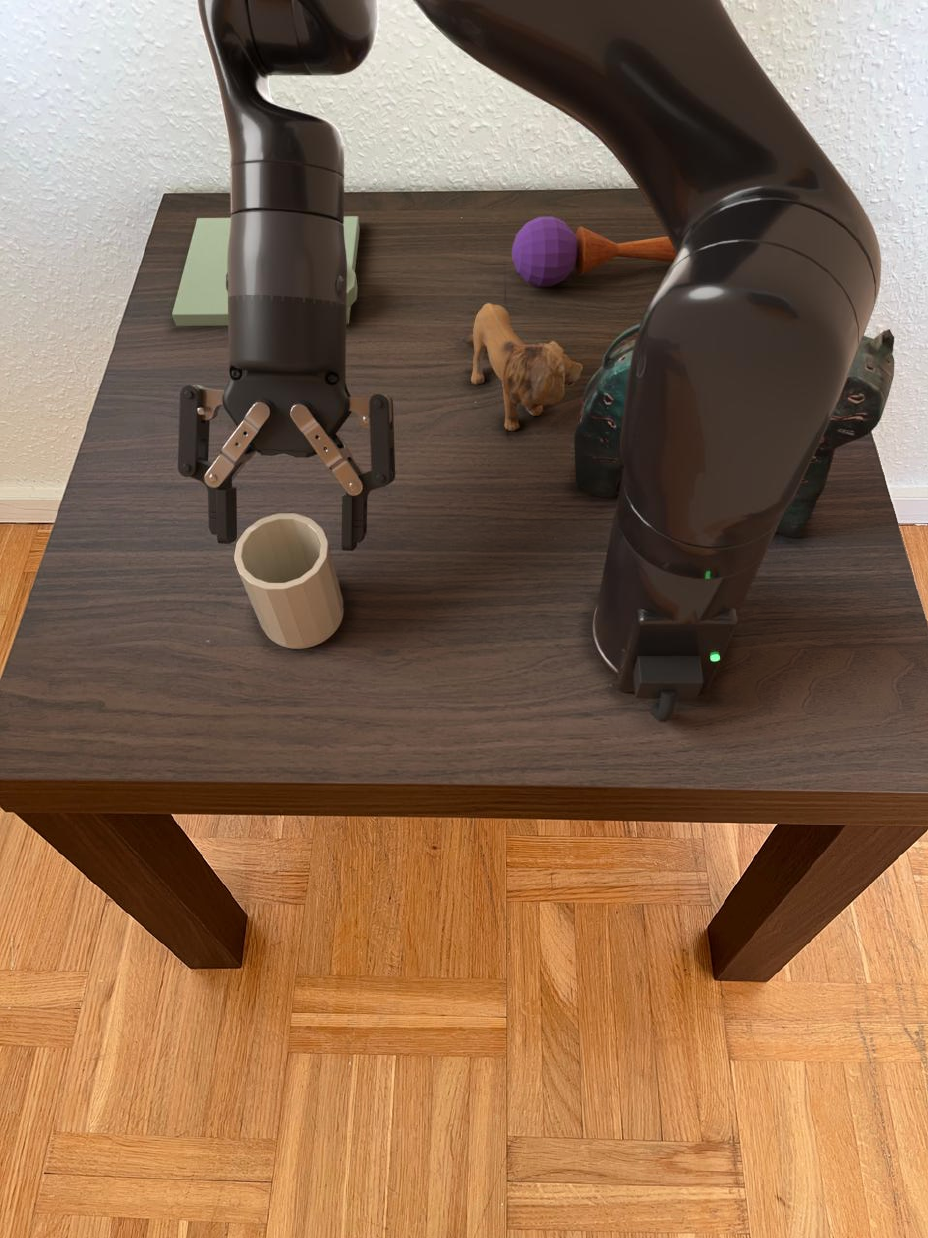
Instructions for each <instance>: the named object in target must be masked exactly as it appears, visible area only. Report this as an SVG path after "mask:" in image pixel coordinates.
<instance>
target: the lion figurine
mask: <svg viewBox="0 0 928 1238" xmlns="http://www.w3.org/2000/svg"><path fill="white" fill-rule="evenodd" d="M474 319H475V320H474V324H473V328H472V334H471V335H466V336H463V337H461V338H460V341H461V342H462V343H463V344H465V345H469V344H472V343H473V350H474V355H473V358H472V362H473V364H472V373H471V377H470V381H471V383H472V384H473V385H476V386H478V385H480V384H484V383H485V375H484V372H483V355H484V353H485V351H486V350H487V356H488V359H489V363H490V365H491V368H492V369H493V371H494V373H495V375H496V377H498V379H499V380H500V381H501V385H502V394H503V403H504V413H505V414H504V415H505V417H504V428H505V429H506V430H507V431H511V432H515V431H516V430H518V429H519V428H520V423H519V415H518V413H517V406H518V404H519V405H522V406H523V407H525V410H526V411H527V412H528V413H529V414H530V415H531V416H534V417H537V416H540V415H541V414H542V413H543V411H544V409H543V408H544V406H546V405H554V404H556V403H559V402H560V400H562V398H563V397H564V396H565V394H566V392H565V387H566V386H567V387H573V385H574V384H575V382H576V381H577V380H579V378H580V376H581V372H582V371H583V370H584V369H583V367H584V366H583V365H582V364H581V363H580V362H575V361H573V360H571V359H570V357H569V356H568V355H566V354H565V353H564V349H563V348H562V346H560V345H558V342H557V341H555V340H552V341H550V342H549V343H540V342H538V344H534V343H532V344H526V343H523V341H522V340H521V338H520V337H518V335H517V334H516V333H515V332H514V330H513V328H512V326H511V325H512V324H511V317H510V314H509V312H508V311H507V309H506V308H504V307H503V306H502V305H500V304H493V303H491V302H488V303H485V304H483V306H482V308H481V309H480V310H479V311H478V313H477V314H476V316H475V318H474Z"/></svg>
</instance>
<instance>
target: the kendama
mask: <svg viewBox="0 0 928 1238" xmlns="http://www.w3.org/2000/svg"><path fill="white" fill-rule="evenodd" d="M616 257H618V258H628V259H637V260H647V261H648V260H650V261H660V262H671V263H673V261H674V259H675V257H676V253H675V250H674V248H673V245H672V243H671V241H670V239H669V237H668V235H667V236H661V237H653V238H647V239H641V240H633V241H626V242H621V243H616V242H614V241H613V240H610V239H608V238H606V237H604V236H602V235H599V234H598V233H596V232H594V231H591V230H589V229H587V228H585V227H583V226H579V227H578V228H577V230H576V233H575V232H574V231H573V230H572V229H571V228H570V227H569V226H568V224H567V223H566V222H565V221H563V220H561V219H558V218H557V217H555V216H538V217H535V218H533V219H532V220H530V221H528V222H526V223H525V224H524V226H522V227H521V229H520V230H519V231H518V232H517V233H516V235H515V238H514V240H513V244H512V247H511V258H512V261H513V264H514V267H515V271H516V273H518V275H520V276H521V278H522V279H523V280H524V281H525V282H526V283H529V284H531V285H533V286H535V287H538V288H543V287H552V286H554V285H557V284H559V283H561V282H563V281H565V280H566V279H567V278H568V277H569V275H571V273H572V272H574V270H575V271H576V274H577V275H578V276H582V275H583V274H585V273H587V272H588V271H591V270H593V269H595V268H597V267H599V266H601V265H603V264H604V263H607V262H608V261H611V260H612V259H614V258H616Z"/></svg>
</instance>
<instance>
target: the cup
mask: <svg viewBox="0 0 928 1238" xmlns="http://www.w3.org/2000/svg"><path fill="white" fill-rule="evenodd" d="M233 555H234V556H233V559H234V563H235V565H236V569H237V572H238V574H239V577H240V579H241V581H242V584H243V586H244V589H245V592H246V594H247V596H248V599H249V601H250V603H251V605H252V608H253V610H254V613H255V615H256V618H257V620H258V622H259V625H260V627H261V629H262V630H263V633H264V634H265V635H266V636H267V638H268V639H270V641H272V642H273V643H275V644H277V645H279V646H281V647H284V648H289V649H295V650H300V649H301V650H302V649H308V648H312V647H315V646H317V645H320V644H322V643H324V642H326V641H327V640H328V639H329V638H331V637H332V636H333V635H334V634H335V632H336V631H337V630H338V628H339V627H340V625H341V623H342V620H343V617H344V610H345V608H344V599H343V595H342V591H341V587H340V584H339V579H338V576H337V572H336V567H335V563H334V559H333V556H332V552H331V547H330V544H329V541H328V538H327V536H326V533H325V531H324V529H323V528H322V527H321V526H320V525H319V524H318V523H317V522H315V521H314V520H313V519H312V518H310V517H307V516H304V515H301V514H300V513H299V514H298V513H285V512H284V513H274V514H272V515H268V516H265V517H263V518H260V519H258V520H257V521H256V522H254V523H252V524H251V525H249V526H248V527H247V528H246V529H245V530H244V532H242V534H241V536H240V537H239V539H238V540H237V542H236V545H235V550H234V554H233Z"/></svg>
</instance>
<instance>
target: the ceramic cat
mask: <svg viewBox="0 0 928 1238" xmlns="http://www.w3.org/2000/svg"><path fill="white" fill-rule="evenodd" d="M640 324H641V323H637V324H635V325H633V326H631V327H629V328H627V329H625V330H624V331H623V332H622V333H620V334H619V335H618V336H617V337H616V338H615V339H614V340H613V341H612V343H611V344H610V345H609V346H608V348H607V350H606V352H605V353H604V355H603V357H602V361H601V363H602V364H601V366H600V367H599V368H598V369H597V371H596V372H595V373H594V374H593V375H592V377H591V378H590V380H589V382H588V383H587V385H586V387H585V389H584V392H583V395H582V399H581V407H580V413H579V417H578V421H577V424H576V427H575V430H574V436H573V437H574V438H573V449H574V465H575V466H574V471H575V472H574V473H575V488H576V490H577V492H581V493H584V494H586V495H590V496H593V497H599V498H604V499H607V498H615V495H616V491H617V487H618V484H619V480H620V477H621V473H622V470H624V465H623V462H622V459H621V455H620V434H621V426H622V419H623V411H624V404H625V397H626V389H627V382H628V376H629V369H630V364H631V358H632V353H633V348H634V344H635V340H636V338H635V339H632V340H630V341H628V342H626V343H625V344H623V345H621V346H619V347H617V346H618V345H619V344H621V343H622V342H623V341H624V340H627V339H628V338H630V337H632V336H633V335H635V334H637V333H638V330H639V327H640ZM894 345H895V336H894V335H893V333H892V330H891V329H890V328H889V329H886V330H883V331H882V332H881V333H879V334H878V335H876V336H875V337H874V338H872V337H871V336H870V337H869V336H866V335H864V336H863V339H862V341H861V344H860V346H859V349H858V352H857V354H856V357H855V359H854V361H853V364H852V367H851V370H850V373H849V375H848V378H847V381H846V383H845V386H844V389H843V391H842V394H841V396H840V399H839V401H838V403H837V406H836V408H835V410H834V413H833V415H832V417H831V419H830V422H829V424H828V426H827V428H826V430H825V432H824V435H823V437H822V439H821V441H820V443H819V445H818V447H817V450H816V452H815V454H814V456H813V458H812V460H811V462H810V464H809V466H808V469H807V471H806V473H805V475H804V477H803V479H802V481H801V483H800V485H799V488H798V490H797V493H796V495H795V497H794V499H793V500H792V502H791V503H790V505H789V506H788V507H787V509H786V511H785V513H784V515H783V517H782V519H781V522H780V524H779V526H778V528H777V531H776V533H775V534H779V535H783V536H786V537H788V538H793V539H799V537H800V536H801V534H802V532H803V531H804V528H805V527H806V525H807V523H808V522H809V520H810V519H811V516H812V513H813V511H814V509H815V507H816V504H817V501H818V500H819V498H820V496H821V495H822V493H823V492H824V490H825V488H826V484H827V480H828V476H829V474H830V469H831V467H832V463H833V460H834V457H835V456H834V455H835V451H836V449H837V448H840V447H842V446H844V445H846V444H849V443H851V442H854V441H858V440H860V439H863V438H864V437H865V436H867V435H870V433H871V432H872V431H873V430H874V429H876V428H877V426H878V424H879V423H880V421H881V419H882V417H883V414H884V410H885V408H886V404H887V402H888V398H889V396H890V392H891V388H892V384H893V380H894V377H895V357H894V354H893V353H894V347H895V346H894ZM616 347H617V348H616ZM615 348H616V349H615Z"/></svg>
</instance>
